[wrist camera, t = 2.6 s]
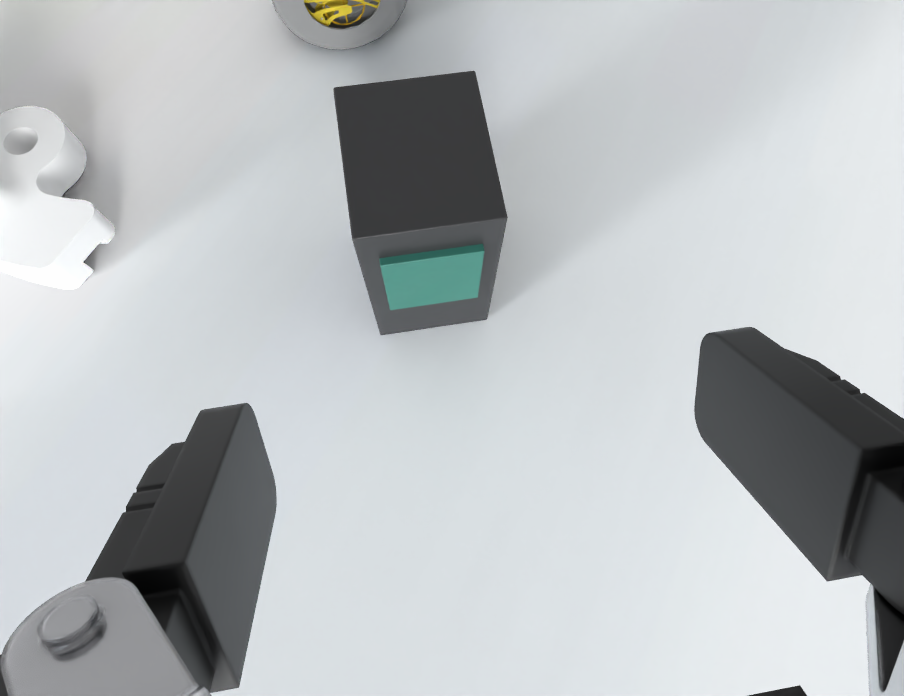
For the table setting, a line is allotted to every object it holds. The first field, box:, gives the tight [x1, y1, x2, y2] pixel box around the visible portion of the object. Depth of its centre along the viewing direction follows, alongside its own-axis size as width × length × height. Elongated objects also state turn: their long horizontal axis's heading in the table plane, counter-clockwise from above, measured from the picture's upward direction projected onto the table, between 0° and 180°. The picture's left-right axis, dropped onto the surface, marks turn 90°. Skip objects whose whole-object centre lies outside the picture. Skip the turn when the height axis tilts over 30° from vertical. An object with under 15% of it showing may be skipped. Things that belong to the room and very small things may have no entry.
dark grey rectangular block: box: [334, 71, 507, 335], centre depth 24 cm, size 6×5×9 cm
